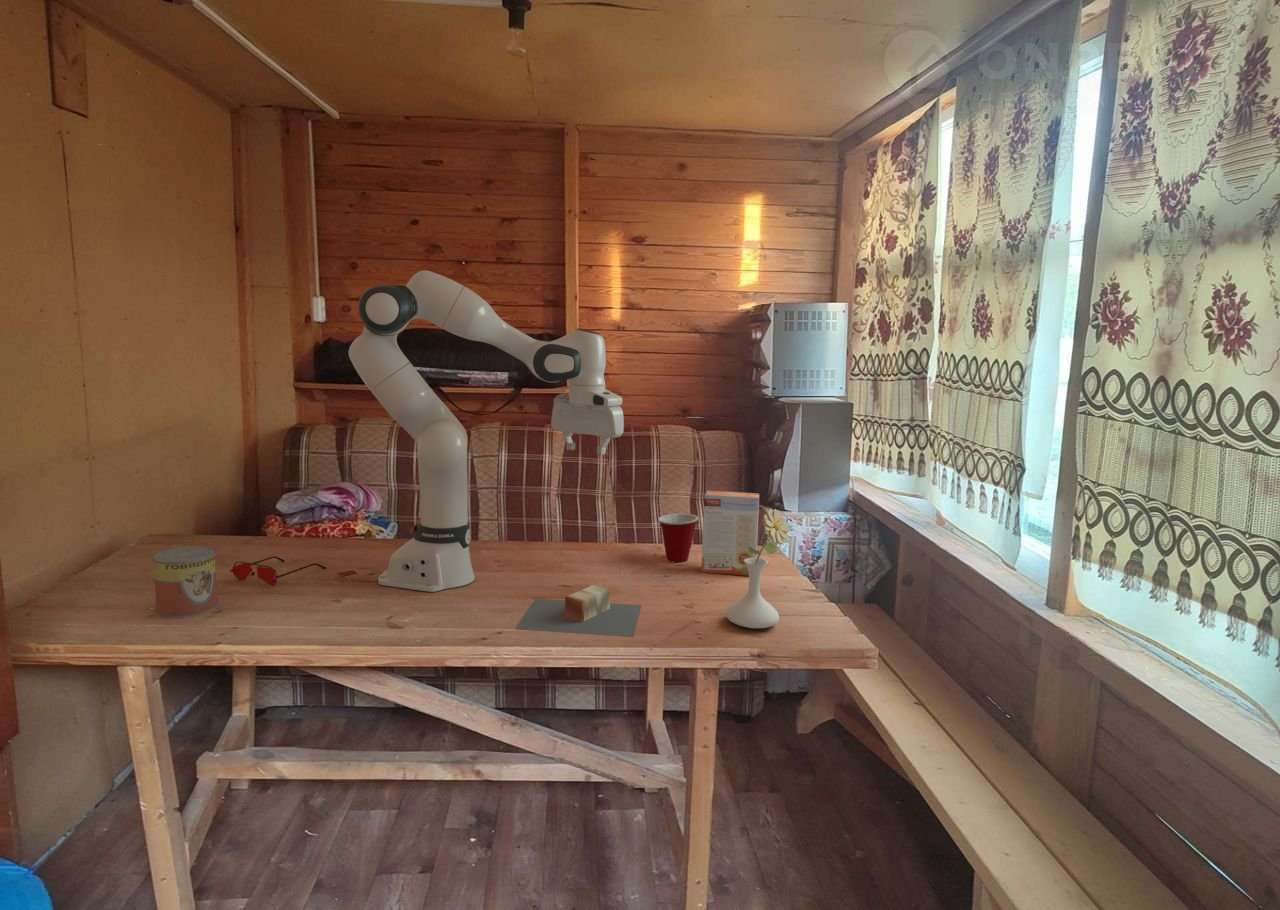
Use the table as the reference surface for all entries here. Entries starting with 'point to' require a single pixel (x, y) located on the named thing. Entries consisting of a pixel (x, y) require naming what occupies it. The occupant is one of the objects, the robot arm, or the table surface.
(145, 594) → the table surface
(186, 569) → the canned food
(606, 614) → the slate mat
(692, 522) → the plastic cup
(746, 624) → the flower in vase
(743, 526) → the cracker box
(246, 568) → the glasses
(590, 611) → the birch block
